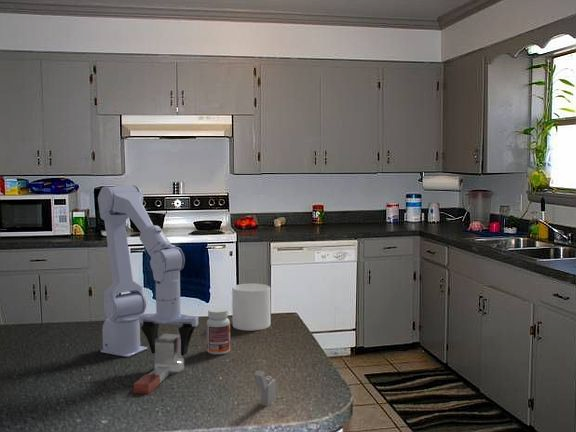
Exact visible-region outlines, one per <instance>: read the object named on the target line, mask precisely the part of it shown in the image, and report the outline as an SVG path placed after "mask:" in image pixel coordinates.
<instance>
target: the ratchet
mask: <svg viewBox="0 0 576 432" xmlns="http://www.w3.org/2000/svg"><path fill="white" fill-rule="evenodd" d="M183 371H185V358H184V357H182V359H181V360H180V361H178V362H177V363H176V364H175V365H168V364H155V363H154V369H153V370H152V371H151V372H149V373H145V374H144V375H143V376H141V377H140V378H139V379H138V380H137V381H135V382H134V383H133V393H134V394H143V395H144V394H145V395H149V394H151V393H152V392H153V391H154V390H155V389H156V388H158V387H159V386H160V385H161V383H162V382H163V381H164V380H165V379H166V378H167V377H169V376H170V375H175V374H179V373H181V372H183Z"/></svg>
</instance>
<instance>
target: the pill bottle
mask: <svg viewBox="0 0 576 432" xmlns="http://www.w3.org/2000/svg"><path fill="white" fill-rule="evenodd" d="M228 312H229V311H228V308H226V307H211V308H209V309H208V310H207V317H208V319H207V321H206V350H207V353H208V354H211V355H224V354H227V353H230V352H231V322H230V321H231V320H230V319H229V318H228V316H229V315H228V314H229V313H228Z"/></svg>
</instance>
